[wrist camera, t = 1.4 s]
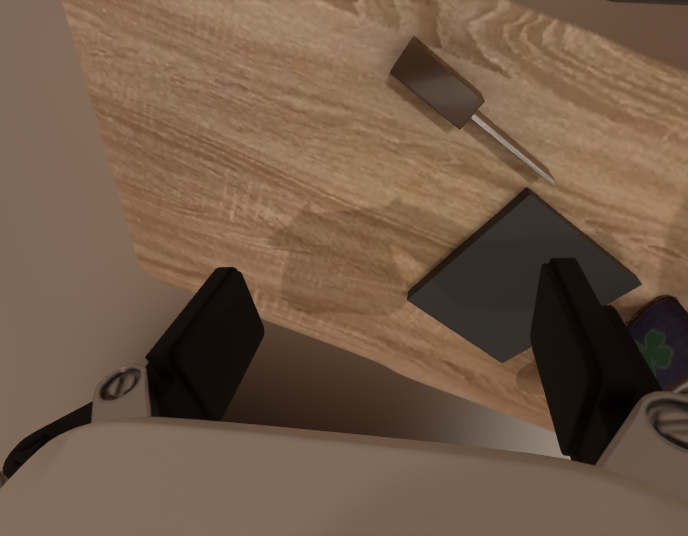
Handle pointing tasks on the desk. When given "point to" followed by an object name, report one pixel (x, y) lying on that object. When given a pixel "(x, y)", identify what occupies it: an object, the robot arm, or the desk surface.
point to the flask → (664, 341)
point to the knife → (453, 96)
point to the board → (512, 275)
